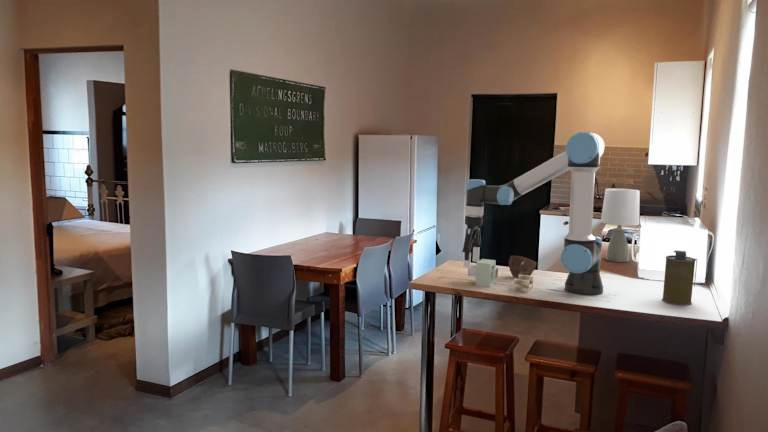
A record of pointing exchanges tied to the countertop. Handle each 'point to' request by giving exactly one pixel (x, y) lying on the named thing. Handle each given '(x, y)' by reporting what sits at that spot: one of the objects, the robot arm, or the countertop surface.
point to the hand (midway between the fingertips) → (471, 264)
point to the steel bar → (473, 271)
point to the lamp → (620, 219)
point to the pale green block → (484, 272)
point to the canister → (679, 279)
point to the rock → (521, 266)
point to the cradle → (523, 283)
